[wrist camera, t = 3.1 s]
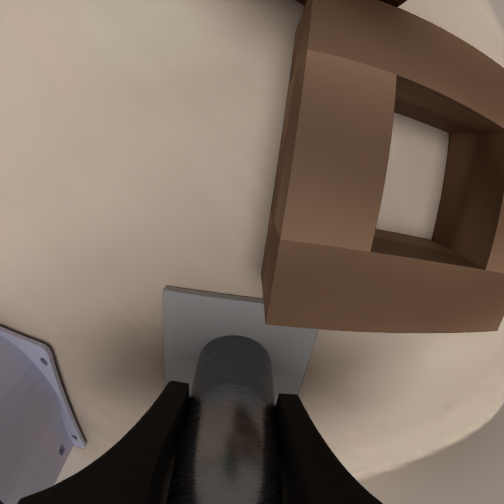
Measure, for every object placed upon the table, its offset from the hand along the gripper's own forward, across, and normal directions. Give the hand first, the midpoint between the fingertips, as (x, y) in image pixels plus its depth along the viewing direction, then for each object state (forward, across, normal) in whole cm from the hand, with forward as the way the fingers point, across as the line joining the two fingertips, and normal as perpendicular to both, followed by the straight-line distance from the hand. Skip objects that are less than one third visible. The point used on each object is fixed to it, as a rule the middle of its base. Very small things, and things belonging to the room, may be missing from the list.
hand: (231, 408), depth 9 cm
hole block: (+3, -5, -8) cm, 10 cm away
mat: (+3, 0, 0) cm, 3 cm away
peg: (+2, 0, 0) cm, 2 cm away
